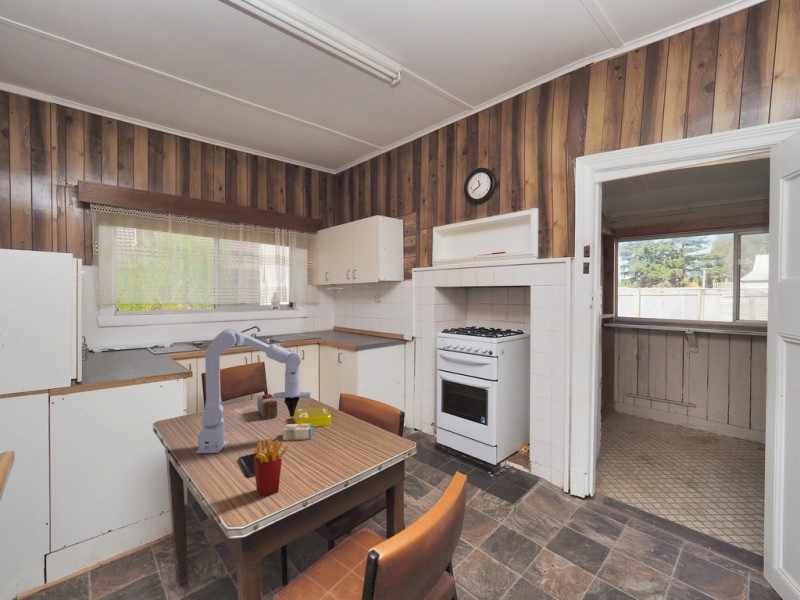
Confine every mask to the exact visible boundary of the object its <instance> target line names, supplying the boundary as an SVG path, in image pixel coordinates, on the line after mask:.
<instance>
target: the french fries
mask: <svg viewBox="0 0 800 600" xmlns="http://www.w3.org/2000/svg"><path fill="white" fill-rule="evenodd" d="M261 445H262V447H261ZM271 445H272V448H271ZM282 445H283V442H280V440H274V441H273V443H272V439H271V438H270V439H263V441H257V445H256V449H254V450H253V453H256V456H254V457H253V459H254V469H255V477H254V478H255V486H256V491H258V492H257V494H258V495H259V498H261V497H262V498H264V497H263V496H265V497H267V496H266V495H268V496H271V495H274V494H273V493H275V494H277V493H276V492H278V493H279V488H280V482H281V481H280V479H281V469H282V463H283V460H282V457H283V456H284V455H285V454H286V452H287V451H288V449H289V448H290V446H288V445H286V446H285V447H284V449H283V450H282V452H281V453H280V454H278V453H279V451H280V449H281V447H282ZM265 448H266V450H265ZM260 452H261V453H260ZM270 494H271V495H270Z"/></svg>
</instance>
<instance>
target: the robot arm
mask: <svg viewBox="0 0 800 600" xmlns="http://www.w3.org/2000/svg"><path fill="white" fill-rule="evenodd" d="M235 345H236V347H240V346H248V347H250V348H253V349H256V350H257V351H261V352H263V353H265V356H266V357H267V358H269V359H270V360H274V361H276V362H278V363H281V364H285V371H284V391H281V392H273V393H272V394H273V395H272V397H273V399H275V400H277V399H284V400H283V402H284V404H285V406H286V407H287V409H288V413H289V417H291V418H294V415H295V410H296V409H297V405H298V404H299V403H298V402H299V400H300V399H305V398H306V399H311V397H312V392H310V391H301V389H300V388H301V387H300V384H301V381H300V380H301V378H300V377H301V373H300V371H301V370H300V368H301V367H300V365H301V362H302V360H301V358H300V355H299V354H298V353H297V352H296V351H295V350H292V349H290V348H288V349H287V348H285V347H282V346H281V344H280V343H272V344H268V343H266V342H264V341H262V340H259V339H258V338H255V337H254V336H251V335H249V334H246V333H244V332H242V331H238V330H237V331H236V329H235V330H234V329H231V328H227V329H224V330H223V331H221V332H220V333H219V334H217V335H216V336H215V337H214V339H213V340H212V341H211V342H210V345H209V346H208V347H207V348H206V350H205V353H204V355H205V358H204V359H205V360H204V361H205V399H206V400H205V404H204V412H203V414H202V418H201V419H202V428H201V431H200V432H199V434H198V438H197V439H198V440H197V441H198V442H197V443H198V444H197V445H198V448H197V450H196V451H195V454H218V453H220V452H221V451H222V450H223V448H224V447H225V446H226V445H228V443H229V440H225V419H224V418H223V414H224V413H225V407H224V405H223V403H222V397H221V396H222V395H221V363H220V362H221V360H220V359H221V358H220V357H221V355H222V354H223V353H224V352H225V351H226V350H229V349H231V348H232V347H234V346H235Z"/></svg>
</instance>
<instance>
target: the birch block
mask: <svg viewBox="0 0 800 600" xmlns="http://www.w3.org/2000/svg"><path fill="white" fill-rule="evenodd" d="M314 433H315V427H314V424H295V423H289V424H287V423H286V425H285V426H284V427H283V429H282V440H283V441H288V440H290V441H292V440H296V441H297V440H312V439H313V437H314Z"/></svg>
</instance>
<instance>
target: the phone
mask: <svg viewBox="0 0 800 600" xmlns="http://www.w3.org/2000/svg"><path fill="white" fill-rule="evenodd" d="M260 453H261V451H260ZM254 456H256V453H255V452H253V453H250V454H246V455H242V456H239V458H238V462H239V464H240V466H241V467H242V469H243V471H244V473H245V475H246V477H247V478H249V479H250V478H255V469H254V459H253V457H254Z"/></svg>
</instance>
